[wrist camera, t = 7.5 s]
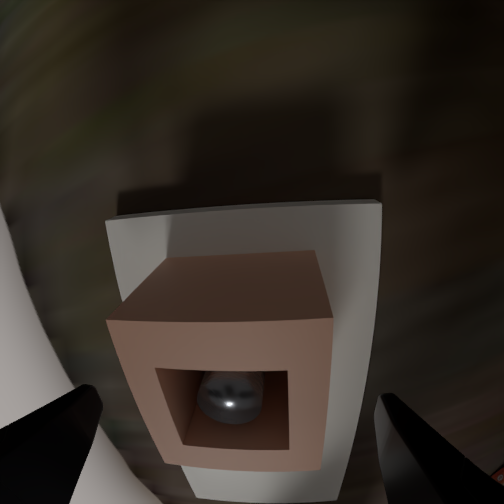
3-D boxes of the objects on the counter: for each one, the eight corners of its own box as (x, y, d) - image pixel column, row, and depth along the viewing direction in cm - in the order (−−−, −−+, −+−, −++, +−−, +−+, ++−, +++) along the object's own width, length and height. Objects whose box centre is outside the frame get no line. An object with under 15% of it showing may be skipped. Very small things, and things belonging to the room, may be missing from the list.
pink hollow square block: (313, 383, 14) (320, 469, 9) (194, 384, 14) (165, 463, 10) (314, 250, 12) (333, 317, 7) (166, 257, 12) (105, 319, 8)
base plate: (336, 490, 19) (336, 500, 18) (199, 488, 20) (196, 497, 19) (374, 199, 12) (382, 203, 11) (116, 215, 13) (105, 220, 12)
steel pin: (270, 347, 13) (263, 424, 9) (224, 347, 13) (202, 422, 9) (267, 307, 13) (259, 381, 8) (219, 307, 13) (191, 379, 9)
